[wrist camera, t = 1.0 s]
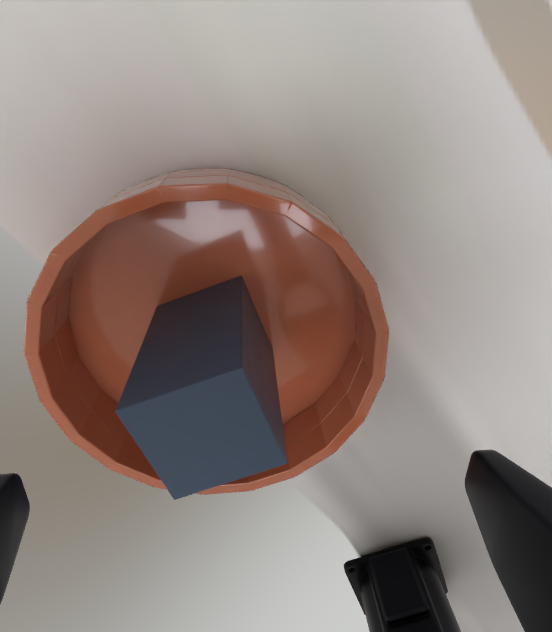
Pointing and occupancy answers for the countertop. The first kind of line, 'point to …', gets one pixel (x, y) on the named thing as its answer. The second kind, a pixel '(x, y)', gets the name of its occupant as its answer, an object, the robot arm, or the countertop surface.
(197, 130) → the countertop surface
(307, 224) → the bowl
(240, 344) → the block
